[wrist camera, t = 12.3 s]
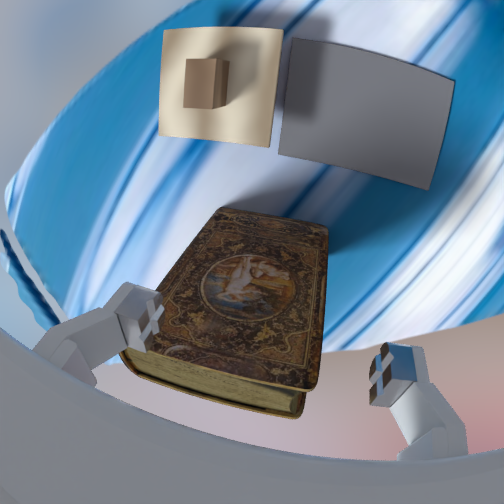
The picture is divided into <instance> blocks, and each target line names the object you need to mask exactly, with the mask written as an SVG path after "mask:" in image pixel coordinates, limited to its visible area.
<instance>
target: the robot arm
mask: <svg viewBox="0 0 504 504" xmlns="http://www.w3.org/2000/svg"><path fill="white" fill-rule="evenodd" d="M162 302H163V295H162V293H160V292H157V291H154V290H151V289H148V288H145V287H142V286H139V285H135V284H132V283H129V282H125V283H123V284H122V285H121V286H120V288H119V289H118V290H117V291H116V292H115V294H114V295H113V296H112V297H111V298H110V299H109V301H108V302H107V303H106V304H105V306H104V307H103V308H100V307H99V308H97V309H94V310H92V311H89V312H87V313H85V314H82V315H80V316H78V317H75V318H73V319H70V320H68V321H66V322H63V323H61V324H59V325H56V326H54V327H52V328H50V329H49V330H48V331H47V333H46V334H45V335H44V336H43V338H42V339H41V340H40V341H39V342H38V344H37V345H36V346H35V347H34V349H33V350H31V349H29V348H28V347H26V346H25V345H23V344H22V343H20V342H19V341H18V340H16V339H15V338H13V337H12V336H11V335H9V334H8V333H7V332H6V331H4V330H3V329H2V328H0V504H504V448H502V449H497V450H492V451H487V452H482V453H476V454H470V455H468V446H467V437H466V429H465V425H464V423H463V422H462V420H461V419H460V418H459V416H458V415H457V414H456V412H455V411H454V410H453V408H452V407H451V406H450V404H449V403H448V402H447V401H446V399H445V398H444V397H443V395H442V394H441V393H440V391H439V390H438V389H437V388H436V386H435V385H434V384H433V383H430V381H429V375H428V370H427V364H426V360H425V355H424V350H423V348H422V347H418V346H409V345H404V344H395V343H389V342H385V343H384V344H383V345H382V347H381V348H380V350H381V354H379V355H377V356H375V358H374V360H373V361H372V364H371V367H370V373H369V380H370V381H371V383H372V384H373V386H372V387H371V389H370V405H372V406H381V407H390V410H391V412H392V414H393V416H394V418H395V420H396V422H397V424H398V426H399V427H400V429H401V431H402V433H403V435H404V437H405V439H406V441H407V443H408V445H409V446H408V447H407V448H405V449H404V450H402V451H401V452H399V453H398V454H397V460H395V461H384V460H383V461H382V460H381V461H380V460H354V459H341V458H330V457H320V456H311V455H304V454H298V453H291V452H286V451H280V450H275V449H270V448H265V447H260V446H255V445H251V444H246V443H242V442H238V441H234V440H230V439H227V438H223V437H219V436H216V435H212V434H209V433H206V432H202V431H199V430H196V429H193V428H190V427H187V426H184V425H181V424H178V423H175V422H173V421H170V420H167V419H164V418H162V417H159V416H157V415H154V414H152V413H149V412H147V411H144V410H142V409H139V408H137V407H135V406H132V405H130V404H128V403H126V402H123V401H121V400H119V399H117V398H115V397H113V396H111V395H109V394H106V393H104V392H102V391H100V390H98V389H96V388H95V385H96V384H97V380H96V378H95V377H94V375H93V373H92V371H91V370H92V369H94V368H96V367H97V366H99V365H100V364H102V363H104V362H105V361H107V360H109V359H110V358H112V357H113V356H115V355H117V354H118V353H120V352H121V351H123V350H125V349H126V348H127V347H130V348H133V349H136V350H138V351H141V352H144V353H147V352H148V350H149V349H150V347H151V345H152V344H153V342H154V336H153V335H154V334H156V333H158V332H160V330H161V328H162V327H163V324H164V321H165V309H164V307H163V306H162V305H161V303H162Z"/></svg>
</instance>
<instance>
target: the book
mask: <svg viewBox="0 0 504 504" xmlns="http://www.w3.org/2000/svg"><path fill="white" fill-rule="evenodd" d="M328 240H329V232H328V229H327V227H326V226H324V225H320V224H315V223H310V222H306V221H301V220H295V219H289V218H284V217H278V216H272V215H266V214H260V213H254V212H248V211H242V210H235V209H229V208H223V207H220V208H218V209H217V210H216V211H215V213H214V214H213V215H212V217H211V218H210V219H209V220H208V222H207V223H206V224H205V225H204V227H203V228H202V229H201V230H200V232H199V233H198V234H197V236H196V237H195V238H194V239H193V241H192V242H191V243H190V245H189V246H188V247H187V248H186V250H185V251H184V252H183V254H182V255H181V256H180V258H179V259H178V260H177V262H176V263H175V264H174V266H173V267H172V268H171V270H170V271H169V272H168V274H167V275H166V276H165V278H164V279H163V280H162V282H161V283H160V284H159V286H158V287H157V289H156V290H155V291H157V292H160V293H162V295H163V302H162V303H161V305H162V306H163V307H164V309H165V321H164V324H163V327H162V328H161V330H160V332H158V333H156V334H154V335H153V336H154V342H153V344H152V345H151V347H150V349H149V350H148V352H147V353H144V352H141V351H138V350H136V349H133V348H130V347H127V348H126V349H125V350H123V351H121V352H120V353H119V356H120V358H121V359H122V361H123V363H124V364H125V365H126V366H127V368H128V369H130V370H131V371H132V372H133V373H134V374H135V375H137V376H138V377H140V378H143V379H146V380H149V381H151V382H154V383H157V384H159V385H162V386H165V387H168V388H171V389H174V390H177V391H180V392H183V393H186V394H189V395H192V396H196V397H199V398H202V399H206V400H210V401H213V402H217V403H220V404H224V405H228V406H232V407H236V408H240V409H244V410H249V411H253V412H257V413H262V414H267V415H273V416H277V417H282V418H288V419H298V418H299V417H300V416H301V414H302V413H303V409H304V405H305V399H306V393H307V392H310V391H312V390H313V389H314V388H315V387H316V385H317V382H318V377H319V370H320V361H321V351H322V341H323V330H324V317H325V304H326V288H327V268H328Z"/></svg>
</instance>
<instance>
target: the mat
mask: <svg viewBox="0 0 504 504" xmlns="http://www.w3.org/2000/svg"><path fill="white" fill-rule="evenodd" d="M453 87H454V82H453V81H451V80H449V79H446V78H444V77H442V76H439V75H437V74H434V73H432V72H429V71H427V70H424V69H421V68H419V67H416V66H413V65H410V64H407V63H404V62H401V61H398V60H395V59H392V58H388V57H385V56H381V55H378V54H374V53H370V52H366V51H362V50H358V49H354V48H350V47H345V46H340V45H335V44H330V43H325V42H319V41H313V40H306V39H299V38H293V40H292V49H291V57H290V65H289V73H288V81H287V89H286V97H285V104H284V112H283V120H282V128H281V135H280V143H279V150H278V155H284V156H290V157H295V158H300V159H305V160H310V161H315V162H320V163H325V164H330V165H334V166H339V167H343V168H347V169H351V170H356V171H360V172H364V173H368V174H372V175H375V176H379V177H383V178H387V179H390V180H394V181H397V182H401V183H404V184H408V185H411V186H414V187H418V188H421V189H424V190H427V191H428V190H429V187H430V184H431V180H432V177H433V174H434V170H435V167H436V163H437V160H438V156H439V153H440V149H441V145H442V141H443V137H444V133H445V128H446V124H447V119H448V114H449V110H450V104H451V99H452V93H453Z"/></svg>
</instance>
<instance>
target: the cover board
mask: <svg viewBox="0 0 504 504" xmlns="http://www.w3.org/2000/svg"><path fill="white" fill-rule="evenodd" d="M283 34H284V30H282V29H271V28H255V27H197V28H182V29H170V30H164V36H163V47H162V60H161V76H160V98H159V136H170V137H183V138H195V139H205V140H214V141H223V142H231V143H239V144H246V145H253V146H260V147H267V148H269V147H270V141H271V133H272V125H273V117H274V109H275V101H276V92H277V84H278V76H279V68H280V59H281V51H282V42H283Z"/></svg>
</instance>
